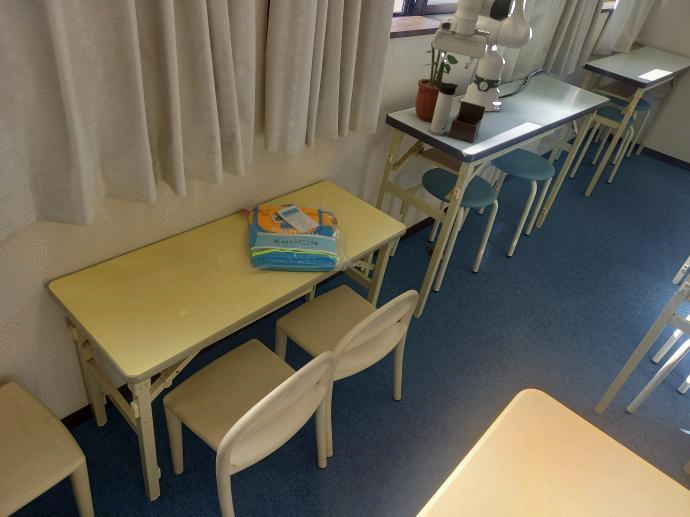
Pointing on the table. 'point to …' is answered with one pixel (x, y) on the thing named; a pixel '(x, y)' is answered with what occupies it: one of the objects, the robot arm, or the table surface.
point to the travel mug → (443, 108)
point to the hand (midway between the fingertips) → (454, 65)
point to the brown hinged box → (467, 122)
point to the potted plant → (431, 87)
